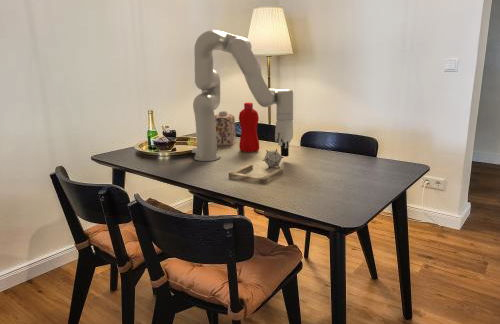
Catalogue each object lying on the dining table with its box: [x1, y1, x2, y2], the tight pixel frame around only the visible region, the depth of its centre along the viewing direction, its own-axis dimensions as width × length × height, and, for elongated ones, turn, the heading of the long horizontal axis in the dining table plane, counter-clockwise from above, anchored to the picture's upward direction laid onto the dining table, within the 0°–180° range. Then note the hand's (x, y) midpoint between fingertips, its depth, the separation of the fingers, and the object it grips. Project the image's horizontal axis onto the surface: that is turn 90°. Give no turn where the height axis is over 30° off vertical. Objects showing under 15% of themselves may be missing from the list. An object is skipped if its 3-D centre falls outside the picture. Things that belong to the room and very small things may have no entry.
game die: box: [262, 148, 284, 169], centre depth 178 cm, size 9×8×10 cm
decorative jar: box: [214, 110, 236, 146], centre depth 226 cm, size 12×12×18 cm
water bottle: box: [238, 102, 260, 154], centre depth 206 cm, size 9×11×25 cm
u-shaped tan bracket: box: [228, 163, 284, 185], centre depth 167 cm, size 17×16×2 cm
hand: (284, 155), depth 188 cm, fingers closed
